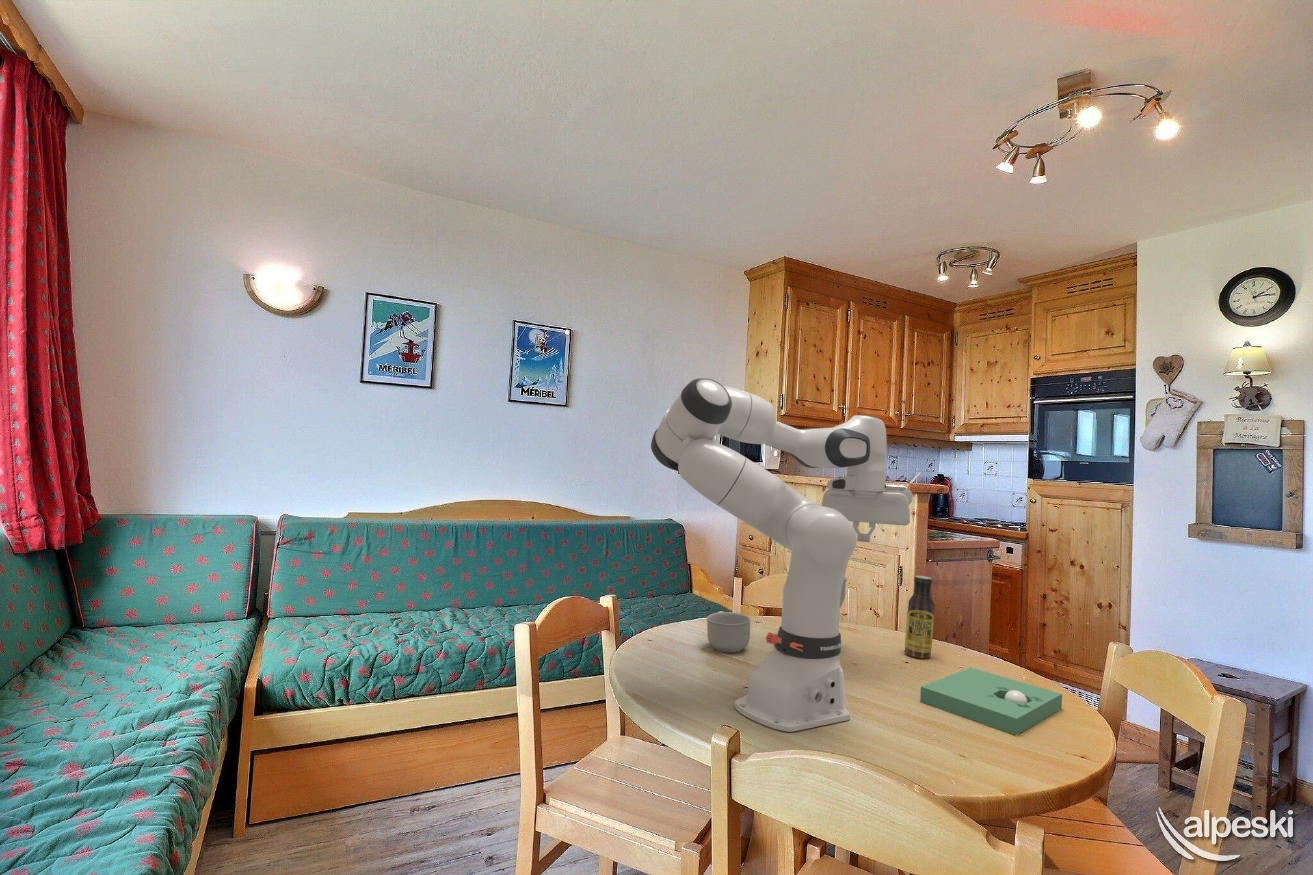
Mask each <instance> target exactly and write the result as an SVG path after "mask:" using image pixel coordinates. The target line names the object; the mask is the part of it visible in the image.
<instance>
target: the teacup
mask: <svg viewBox="0 0 1313 875" xmlns="http://www.w3.org/2000/svg"><path fill="white" fill-rule="evenodd" d="M706 620H707V623H706V624H707V626H706V628H707V630H706V631H707V639H708V642H709V644H710V645H711V646H712V647H714V648H713V649H715V650H716V651H718V652H722V653H738V652H741V651H742V650H744V648H746V647H747V646H748V644H749V643H750V639H751V638H750V636H751V617H750V616H749V615H746V614H745V613H744V614H743V613H739V612H732V611H731V612H730V611H728V612H727V611H723V610H720V611H717V612H714V613H711V614H709V615H707V616H706Z"/></svg>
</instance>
